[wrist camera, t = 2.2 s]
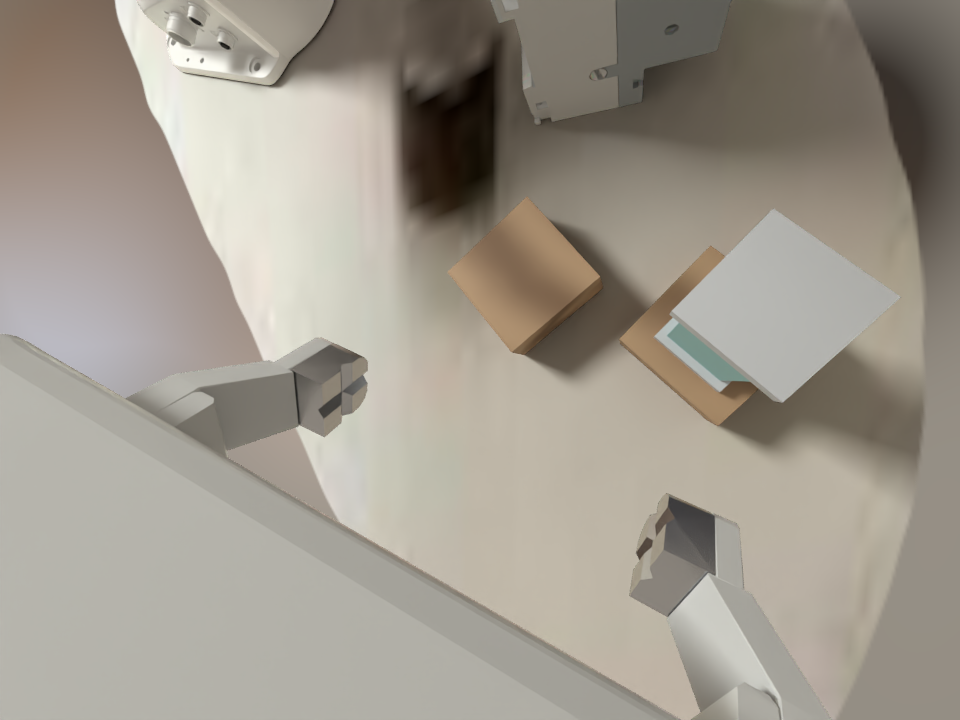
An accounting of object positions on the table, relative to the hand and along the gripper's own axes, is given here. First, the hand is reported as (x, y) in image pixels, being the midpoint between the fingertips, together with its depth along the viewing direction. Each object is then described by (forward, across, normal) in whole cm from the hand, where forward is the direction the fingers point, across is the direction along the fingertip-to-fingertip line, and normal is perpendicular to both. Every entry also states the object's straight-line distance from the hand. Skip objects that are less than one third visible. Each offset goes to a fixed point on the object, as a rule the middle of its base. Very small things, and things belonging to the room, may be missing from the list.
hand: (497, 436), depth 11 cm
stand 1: (+24, +6, +7) cm, 25 cm away
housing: (+20, -7, +4) cm, 22 cm away
